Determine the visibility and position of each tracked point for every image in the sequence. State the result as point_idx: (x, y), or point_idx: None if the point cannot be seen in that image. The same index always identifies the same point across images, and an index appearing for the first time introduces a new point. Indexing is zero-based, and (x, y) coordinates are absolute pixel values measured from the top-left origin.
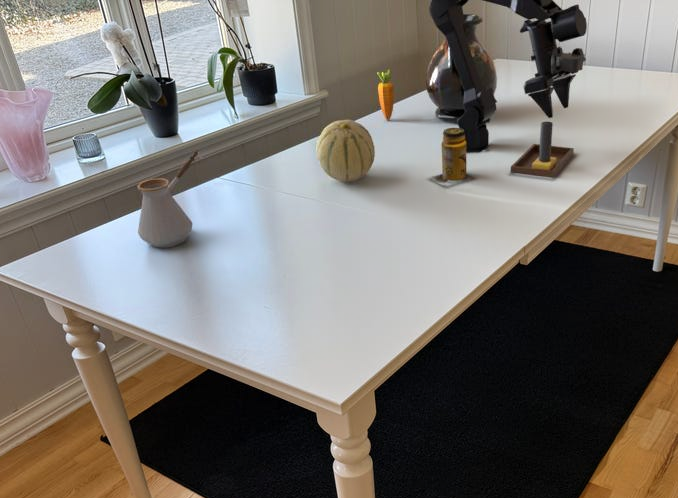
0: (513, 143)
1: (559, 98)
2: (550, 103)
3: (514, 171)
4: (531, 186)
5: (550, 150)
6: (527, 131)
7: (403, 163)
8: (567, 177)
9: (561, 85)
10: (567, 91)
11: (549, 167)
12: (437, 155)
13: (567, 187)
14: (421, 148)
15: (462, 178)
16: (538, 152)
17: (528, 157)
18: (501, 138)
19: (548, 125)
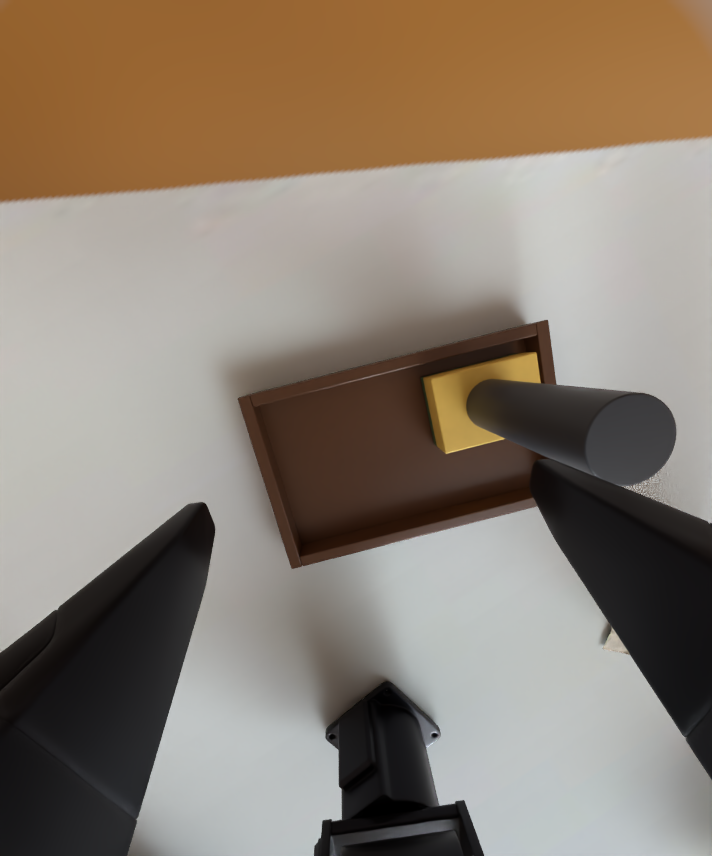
0: (260, 656)
1: (185, 639)
2: (707, 527)
3: None
4: (617, 359)
5: (514, 381)
6: None
7: (610, 799)
8: (474, 288)
9: (50, 823)
10: (96, 629)
11: (529, 352)
12: (503, 770)
13: (569, 232)
14: None
15: None
16: (314, 521)
17: (384, 522)
18: (239, 717)
19: (663, 404)
